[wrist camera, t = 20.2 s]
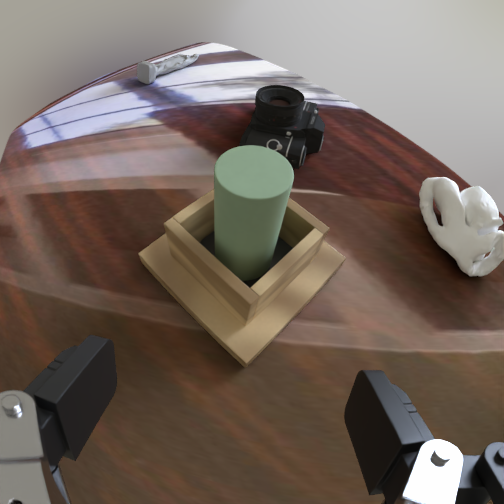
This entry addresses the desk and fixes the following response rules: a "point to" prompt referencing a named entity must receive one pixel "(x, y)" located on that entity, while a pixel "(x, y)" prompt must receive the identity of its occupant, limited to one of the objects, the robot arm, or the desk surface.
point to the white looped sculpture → (464, 224)
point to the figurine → (162, 67)
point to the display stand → (231, 287)
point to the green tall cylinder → (249, 207)
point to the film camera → (285, 124)
